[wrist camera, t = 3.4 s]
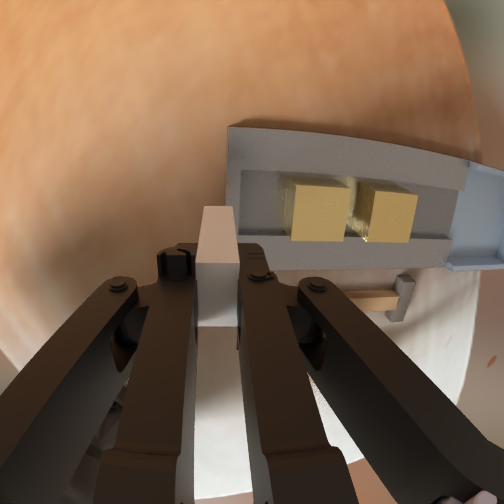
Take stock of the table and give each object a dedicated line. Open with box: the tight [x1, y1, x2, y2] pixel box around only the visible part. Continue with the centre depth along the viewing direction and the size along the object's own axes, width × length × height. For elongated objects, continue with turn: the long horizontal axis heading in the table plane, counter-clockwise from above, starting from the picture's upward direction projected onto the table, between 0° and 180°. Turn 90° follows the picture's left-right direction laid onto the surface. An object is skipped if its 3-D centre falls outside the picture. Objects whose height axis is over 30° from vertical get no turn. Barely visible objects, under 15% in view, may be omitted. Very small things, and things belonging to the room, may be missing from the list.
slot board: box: [225, 127, 469, 271], centre depth 25 cm, size 22×11×2 cm, turn 87°
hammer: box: [342, 275, 416, 322], centre depth 29 cm, size 13×5×2 cm, turn 86°
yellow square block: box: [282, 176, 351, 242], centre depth 23 cm, size 4×4×3 cm
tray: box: [446, 158, 504, 272], centre depth 26 cm, size 11×11×3 cm
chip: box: [352, 182, 418, 243], centre depth 24 cm, size 4×4×3 cm
